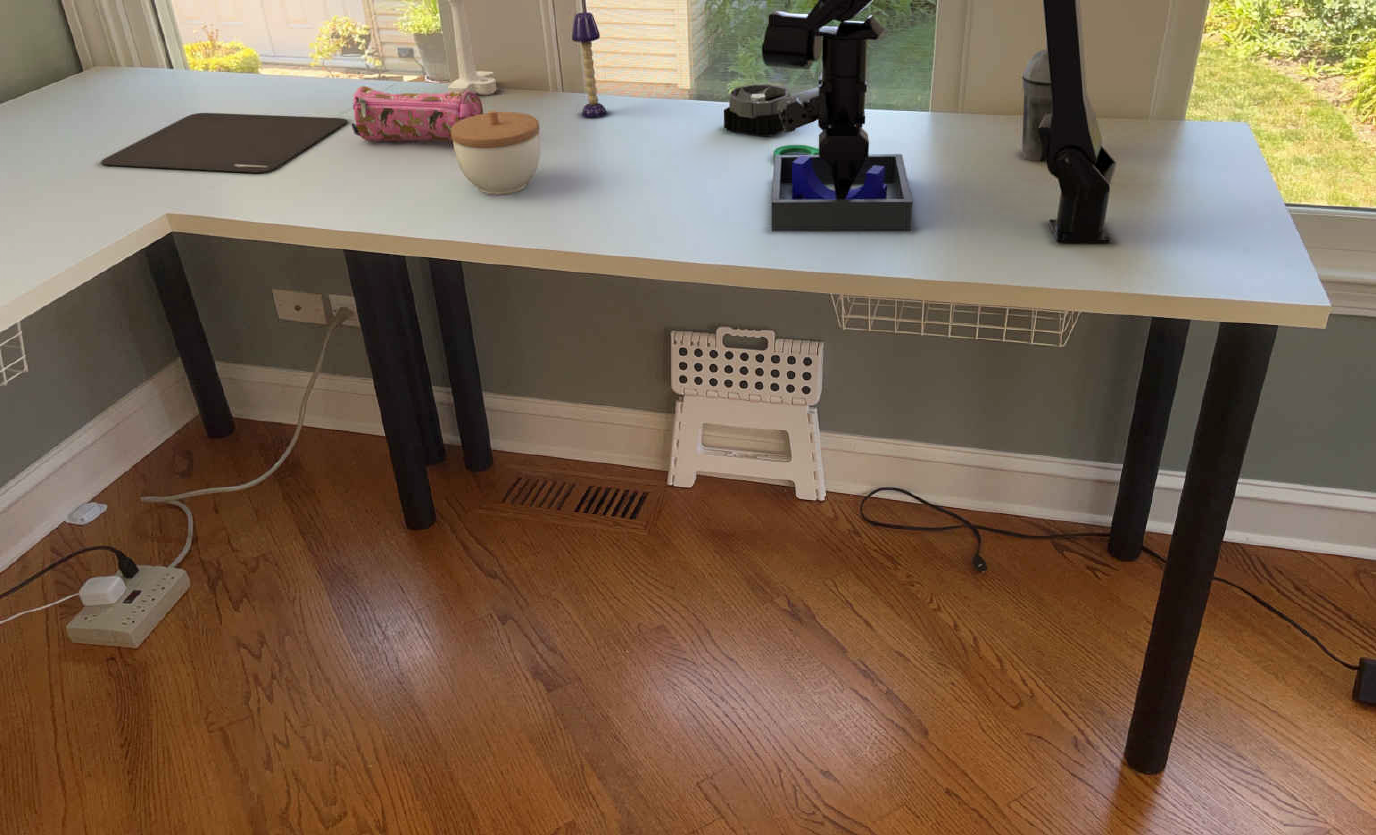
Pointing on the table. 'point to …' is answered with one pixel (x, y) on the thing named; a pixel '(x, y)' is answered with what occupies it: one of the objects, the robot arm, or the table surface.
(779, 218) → the dark grey square tray
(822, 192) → the blue u-shaped bracket
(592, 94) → the toy lamp
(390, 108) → the pencil case
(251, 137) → the mouse pad
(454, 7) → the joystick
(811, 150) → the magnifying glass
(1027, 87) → the beverage cup
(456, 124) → the lidded bowl
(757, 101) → the cpu cooler
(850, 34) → the robot arm
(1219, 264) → the table surface
